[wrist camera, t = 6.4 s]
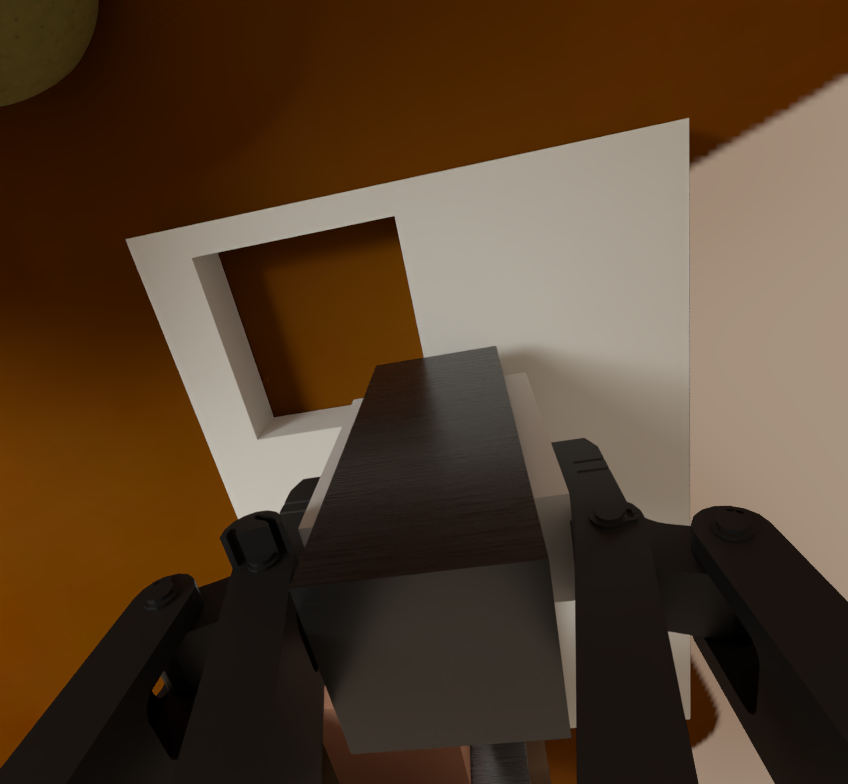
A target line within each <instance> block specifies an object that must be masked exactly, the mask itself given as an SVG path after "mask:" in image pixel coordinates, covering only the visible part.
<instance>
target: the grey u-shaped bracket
mask: <svg viewBox="0 0 848 784" xmlns="http://www.w3.org/2000/svg"><path fill="white" fill-rule="evenodd" d="M289 591H290V594H291V597H292V599H293V602H294V604H295V607H296V610H297V612H298V615H299V618H300V620H301V623H302V626H303V628H304V631H305V633H306V636H307V639H308V641H309V644H310V647H311V649H312V652H313V655H314V657H315V660H316V662H317V665H318V668H319V670H320V673H321V676H322V678H323V681H324V684H325V686H326V689H327V691H328V694H329V697H330V699H331V702H332V705H333V707H334V710H335V712H336V715H337V718H338V720H339V723H340V726H341V728H342V731H343V734H344V736H345V739H346V741H347V744H348V747H349V749H350V752H351V754H362V753H376V752H389V751H403V750H417V749H430V748H444V747H458V746H470V765H471V784H531V780H530V772H529V764H528V757H527V749H526V741H540V740H553V739H567V738H571V730H570V722H569V714H568V706H567V698H566V690H565V682H564V674H563V667H562V659H561V651H560V643H559V635H558V627H557V619H556V611H555V603H554V596H553V588H552V580H551V572H550V564H549V557H548V553H547V549H546V545H545V541H544V537H543V533H542V529H541V525H540V521H539V517H538V513H537V509H536V505H535V501H534V497H533V493H532V489H531V485H530V481H529V477H528V473H527V468H526V464H525V460H524V456H523V452H522V448H521V444H520V440H519V436H518V432H517V428H516V424H515V420H514V416H513V412H512V408H511V404H510V400H509V396H508V392H507V388H506V384H505V379H504V375H503V371H502V367H501V363H500V359H499V355H498V351H497V347H496V346H491V347H485V348H479V349H473V350H467V351H461V352H455V353H449V354H443V355H437V356H431V357H425V358H419V359H413V360H407V361H401V362H395V363H389V364H383V365H377V366H376V368H375V370H374V373H373V375H372V378H371V380H370V383H369V386H368V388H367V391H366V393H365V396H364V398H363V401H362V403H361V406H360V408H359V411H358V413H357V416H356V419H355V421H354V424H353V426H352V429H351V431H350V434H349V436H348V439H347V441H346V444H345V447H344V449H343V452H342V454H341V457H340V459H339V462H338V464H337V467H336V469H335V472H334V475H333V477H332V480H331V482H330V485H329V487H328V490H327V492H326V495H325V497H324V500H323V503H322V505H321V508H320V510H319V513H318V515H317V518H316V520H315V523H314V525H313V528H312V530H311V533H310V536H309V538H308V541H307V543H306V546H305V548H304V551H303V553H302V556H301V558H300V561H299V564H298V566H297V569H296V571H295V574H294V576H293V579H292V581H291V584H290V586H289Z"/></svg>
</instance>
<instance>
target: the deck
mask: <svg viewBox="0 0 848 784" xmlns="http://www.w3.org/2000/svg"><path fill="white" fill-rule="evenodd" d="M392 216H395V221H396V226H397V230H398V235H399V240H400V245H401V250H402V254H403V259H404V264H405V269H406V274H407V278H408V283H409V288H410V293H411V298H412V302H413V307H414V312H415V317H416V322H417V326H418V331H419V336H420V341H421V346H422V350H423V355H424V358H425V357H431V356H437V355H443V354H449V353H455V352H461V351H467V350H473V349H479V348H485V347H491V346H496V347H497V351H498V355H499V359H500V363H501V367H502V371H503V375H504V376H505V375H511V374H517V373H524V372H526V375H527V377H528V380H529V383H530V386H531V388H532V391H533V394H534V397H535V400H536V402H537V405H538V408H539V411H540V414H541V416H542V419H543V422H544V425H545V427H546V430H547V433H548V436H549V439H550V441H551V442H558V441H565V440H572V439H579V438H586V439H587V440H589V441H590V442H592V443H593V444H595V445H596V446H598V448H599V450H600V451H601V453H602V455H603V457H604V460H605V461H606V463H607V465H608V467H609V469H610V470H611V472H612V474H613V476H614V478H615V480H616V482H617V484H618V486H619V488H620V490H621V491H622V493H623V495H624V497H625V499H626V501H627V502H629V503H632V504H633V505H635V506H636V507H637V508H639V509H640V510H641V511H642V513H643V515H644V517H645V518H647V519H650V520H653V521H656V522H660V523H667V524H675V525H687V526H690V326H689V325H690V320H689V319H690V313H689V312H690V311H689V309H690V305H689V304H690V299H689V298H690V295H689V294H690V293H689V291H690V281H689V280H690V279H689V278H690V277H689V276H690V274H689V118H686V119H682V120H677V121H672V122H668V123H663V124H658V125H654V126H649V127H645V128H640V129H635V130H631V131H626V132H621V133H617V134H612V135H607V136H603V137H598V138H593V139H589V140H584V141H579V142H575V143H570V144H566V145H561V146H556V147H552V148H547V149H542V150H538V151H533V152H528V153H524V154H519V155H514V156H510V157H505V158H501V159H496V160H491V161H487V162H482V163H477V164H473V165H468V166H463V167H459V168H454V169H449V170H445V171H440V172H435V173H431V174H426V175H422V176H417V177H412V178H408V179H403V180H398V181H394V182H389V183H384V184H380V185H375V186H370V187H366V188H361V189H357V190H352V191H347V192H343V193H338V194H333V195H329V196H324V197H319V198H315V199H310V200H305V201H301V202H296V203H291V204H287V205H282V206H278V207H273V208H268V209H264V210H259V211H254V212H250V213H245V214H240V215H236V216H231V217H226V218H222V219H217V220H213V221H208V222H203V223H199V224H194V225H189V226H185V227H180V228H175V229H171V230H166V231H161V232H157V233H152V234H147V235H143V236H138V237H134V238H129V239H125V240H126V242H127V245H128V247H129V250H130V252H131V255H132V257H133V260H134V262H135V265H136V267H137V269H138V272H139V274H140V277H141V279H142V282H143V284H144V287H145V289H146V292H147V294H148V297H149V299H150V302H151V304H152V307H153V309H154V312H155V314H156V317H157V319H158V322H159V324H160V326H161V329H162V331H163V334H164V336H165V339H166V341H167V344H168V346H169V349H170V351H171V354H172V356H173V359H174V361H175V364H176V366H177V369H178V371H179V374H180V376H181V378H182V381H183V383H184V386H185V388H186V391H187V393H188V396H189V398H190V401H191V403H192V406H193V408H194V411H195V413H196V416H197V418H198V421H199V423H200V426H201V428H202V431H203V433H204V435H205V438H206V440H207V443H208V445H209V448H210V450H211V453H212V455H213V458H214V460H215V463H216V465H217V468H218V470H219V473H220V475H221V478H222V480H223V483H224V485H225V488H226V490H227V492H228V495H229V497H230V500H231V502H232V505H233V507H234V510H235V512H236V515H237V517H238V519H240V518H242V517H244V516H246V515H249V514H252V513H254V512H259V511H266V510H268V511H275V512H277V513H279V514H280V511H281V509H282V507H283V505H285V501H286V499H287V497H288V495H289V493H290V491H291V490H292V489H293V488H294V487H295V486H296V485H297V484H298V483H299V482H301V481H302V480H303V479H307V478H314V477H321V474H322V472H323V470H324V467H325V465H326V463H327V461H328V458H329V456H330V454H331V451H332V449H333V447H334V444H335V442H336V440H337V437H338V435H339V433H340V430H341V428H342V426H343V423H344V421H345V419H346V417H347V414H348V412H349V410H350V407H351V405H347V406H341V407H335V408H329V409H322V410H316V411H310V412H304V413H298V414H292V415H285V416H279V417H274V416H273V413H272V410H271V407H270V404H269V401H268V398H267V395H266V393H265V390H264V387H263V384H262V381H261V378H260V375H259V372H258V369H257V366H256V363H255V360H254V357H253V354H252V351H251V349H250V346H249V343H248V340H247V337H246V334H245V331H244V328H243V325H242V322H241V319H240V316H239V313H238V310H237V307H236V305H235V302H234V299H233V296H232V293H231V290H230V287H229V284H228V281H227V278H226V275H225V272H224V269H223V266H222V263H221V261H220V258H219V255H218V252H223V251H228V250H233V249H237V248H242V247H247V246H252V245H257V244H262V243H266V242H271V241H276V240H281V239H286V238H291V237H295V236H300V235H305V234H310V233H315V232H320V231H324V230H329V229H334V228H339V227H344V226H349V225H354V224H358V223H363V222H368V221H373V220H378V219H383V218H387V217H392ZM555 611H556V619H557V627H558V635H559V643H560V651H561V659H562V667H563V674H564V682H565V690H566V698H567V706H568V714H569V722H570V728H576V644H575V601H566V602H556V603H555ZM668 635H669V640H670V645H671V650H672V654H673V659H674V664H675V669H676V674H677V679H678V684H679V689H680V694H681V699H682V704H683V709H684V714H685V719H686V720H687V719H690V635H687V634H681V633H675V632H669V631H668Z"/></svg>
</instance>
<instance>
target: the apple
mask: <svg viewBox="0 0 848 784" xmlns="http://www.w3.org/2000/svg"><path fill="white" fill-rule="evenodd" d="M98 5H99V0H0V107H1V106H6V105H11V104H15V103H18V102H21V101H24V100H26V99H28V98H31V97H33V96H36V95H37V94H39V93H41V92H43V91H45V90H47V89H48V88H50V87H52V86H54V85H55V84H57V83H58V82H59V81H60V80H61V79H63V78H64V77H65V76H66V75H68V74H69V73H70V72H71V71H72V70H73V69H74V68H75V67H76V65H77V64H78V63H79V62H80V60H81V58H82V57H83V55H84V53H85V52H86V50H87V47H88V45H89V43H90V41H91V38H92V35H93V33H94V30H95V26H96V22H97V17H98Z"/></svg>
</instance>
